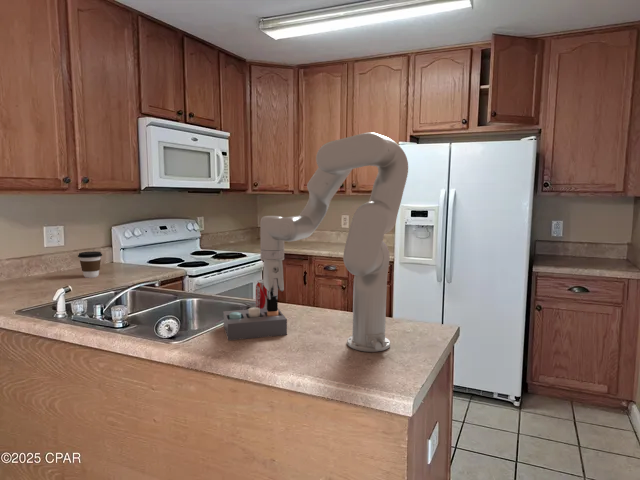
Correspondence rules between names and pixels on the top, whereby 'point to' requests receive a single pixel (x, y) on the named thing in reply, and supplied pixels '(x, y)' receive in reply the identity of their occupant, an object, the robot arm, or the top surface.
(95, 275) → the coffee cup
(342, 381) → the top surface
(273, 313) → the terracotta button
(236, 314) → the teal button
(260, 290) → the soda can
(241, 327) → the grey slotted tray
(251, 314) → the cream button
